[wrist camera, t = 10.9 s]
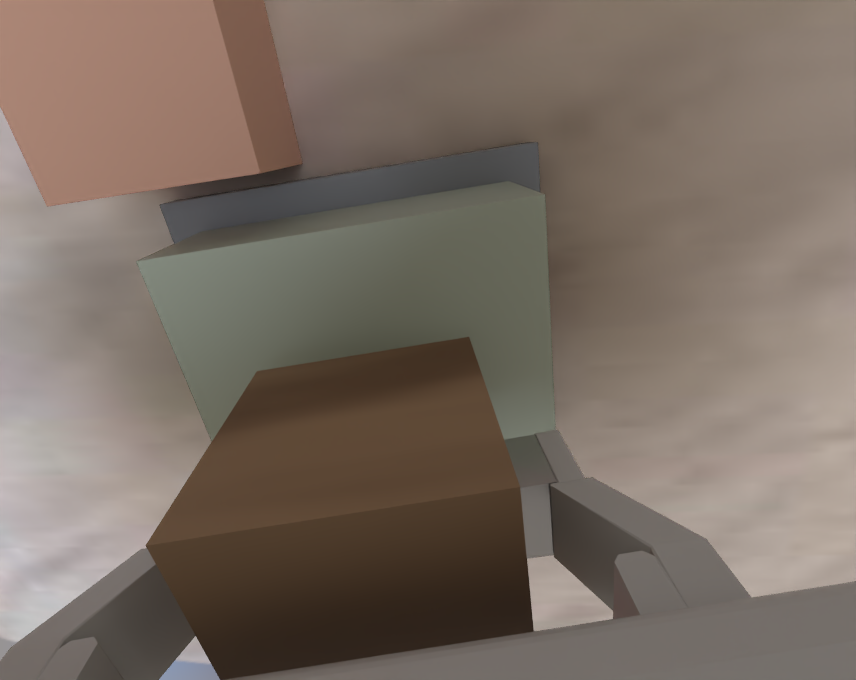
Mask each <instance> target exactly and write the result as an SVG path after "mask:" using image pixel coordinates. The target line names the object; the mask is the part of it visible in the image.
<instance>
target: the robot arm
mask: <svg viewBox="0 0 856 680" xmlns="http://www.w3.org/2000/svg"><path fill="white" fill-rule="evenodd" d="M504 441H505V444H506V447H507V450H508V453H509V455H510V458H511V461H512V464H513V467H514V470H515V473H516V476H517V479H518V482H519V485H520V490H521V501H522V512H523V523H524V533H525V544H526V555H527V558H534V557H542V556H549V555H554V557H555V558H556V559H557V560H558V561H559V562H560V563H561V564H563V565H564V566H565V567H566V568H567V569H568V570H569V571H570V572H571V573H572V574H573V575H575V576H576V577H577V578H578V579H579V580H580V581H581V582H582V583H583V584H584V585H585V586H587V587H588V588H589V589H590V590H591V591H592V592H593V593H594V594H595V595H596V596H598V597H599V598H600V599H601V600H602V601H603V602H604V603H605V604H606V605H607V606H608V607H610V608H611V609H612V610H613V619H611V620H605V621H598V622H592V623H585V624H579V625H572V626H566V627H560V628H553V629H547V630H540V631H534V632H527V633H521V634H515V635H508V636H502V637H495V638H489V639H482V640H476V641H470V642H463V643H457V644H450V645H444V646H437V647H431V648H424V649H418V650H412V651H405V652H399V653H392V654H386V655H379V656H373V657H367V658H360V659H354V660H347V661H341V662H335V663H328V664H322V665H315V666H309V667H302V668H296V669H290V670H283V671H277V672H270V673H264V674H258V675H251V676H245V677H238V678H232V679H225V680H856V581H855V582H848V583H842V584H836V585H829V586H823V587H816V588H810V589H803V590H797V591H791V592H784V593H778V594H771V595H765V596H759V597H751V596H750V595H749V594H748V592H747V591H746V590H745V588H744V587H743V586H742V584H741V583H740V582H739V581H738V579H737V578H736V577H735V575H734V574H733V573H732V571H731V570H730V569H729V568H728V566H727V565H726V564H725V562H724V561H723V560H722V558H721V557H720V556H719V555H718V553H717V552H716V551H715V549H714V548H713V547H712V545H711V544H710V543H709V542H708V540H707V539H706V538H704V537H702V536H700V535H698V534H696V533H694V532H693V531H691V530H689V529H687V528H685V527H683V526H681V525H680V524H678V523H676V522H674V521H672V520H670V519H669V518H667V517H665V516H663V515H661V514H659V513H657V512H656V511H654V510H652V509H650V508H648V507H646V506H644V505H643V504H641V503H639V502H637V501H635V500H633V499H631V498H630V497H628V496H626V495H624V494H622V493H620V492H619V491H617V490H615V489H613V488H611V487H609V486H607V485H606V484H604V483H602V482H600V481H598V480H596V479H594V478H592V477H591V478H585V477H584V475H583V473H582V471H581V470H580V468H579V466H578V464H577V462H576V461H575V459H574V457H573V455H572V453H571V452H570V450H569V448H568V446H567V445H566V443H565V441H564V439H563V437H562V436H561V434H560V432H559V431H558V430H556V429H555V430H550V431H545V432H540V433H534V435H527V436H521V437H515V438H509V439H504ZM195 636H196V635H195V633H194V632H193V630H192V628H191V626H190V624H189V623H188V621H187V619H186V617H185V615H184V614H183V612H182V610H181V608H180V606H179V605H178V603H177V601H176V599H175V597H174V596H173V594H172V592H171V590H170V589H169V587H168V585H167V583H166V581H165V580H164V578H163V576H162V574H161V572H160V571H159V569H158V567H157V565H156V563H155V562H154V560H153V558H152V556H151V554H150V553H149V551H148V549H147V548H145V549H141V550H139V551H138V552H137V553H135V554H134V555H133V556H131V557H130V558H129V559H127V560H126V561H125V562H124V563H122V564H121V565H120V566H118V567H117V568H116V569H114V570H113V571H112V572H110V573H109V574H108V575H106V576H105V577H104V578H102V579H101V580H100V581H98V582H97V583H96V584H94V585H93V586H92V587H90V588H89V589H88V590H86V591H85V592H84V593H82V594H81V595H80V596H78V597H77V598H76V599H74V600H73V601H72V602H70V603H69V604H68V605H66V606H65V607H64V608H62V609H61V610H60V611H59V612H57V613H56V614H55V615H53V616H52V617H51V618H49V619H48V620H47V621H45V622H44V623H43V624H41V625H40V626H39V627H37V628H36V629H35V630H33V631H32V632H31V633H29V634H28V635H27V636H25V637H24V638H23V639H21V640H20V641H19V642H17V643H16V644H15V645H13V646H12V647H11V648H10V649H9V650H8V652H7V653H6V654H5V656H4V657H3V658H2V659H1V661H0V680H159V679H160V677H161V676H162V675H163V674H164V673H165V671H166V670H167V669H168V668H169V667H170V665H171V664H172V663H173V662H174V661H175V659H176V658H177V657H178V656H179V655H180V654H181V652H182V651H183V650H184V649H185V648H186V646H187V645H188V644H189V643H190V642H191V640H192V639H193V638H194V637H195Z"/></svg>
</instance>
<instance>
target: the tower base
mask: <svg viewBox="0 0 856 680" xmlns="http://www.w3.org/2000/svg"><path fill="white" fill-rule="evenodd" d="M160 208H161V210H162V213H163V216H164V218H165V221H166V223H167V226H168V229H169V231H170V234H171V237H172V239H173V242H174V244H173V245H171V246H169V247H167V248H164V249H162V250H160V251H158V252H156V253H154V254H151V255H149V256H147V257H145V258H143V259H140V260H138V261H136V262H137V265H138V267H139V270H140V272H141V274H142V277H143V279H144V281H145V284H146V286H147V289H148V291H149V293H150V296H151V298H152V300H153V303H154V305H155V308H156V310H157V312H158V315H159V317H160V320H161V322H162V324H163V327H164V329H165V331H166V334H167V336H168V339H169V341H170V343H171V346H172V348H173V350H174V353H175V355H176V358H177V360H178V362H179V365H180V367H181V370H182V372H183V374H184V377H185V379H186V381H187V384H188V386H189V389H190V391H191V393H192V396H193V398H194V400H195V403H196V405H197V408H198V410H199V412H200V415H201V417H202V420H203V422H204V424H205V427H206V429H207V431H208V434H209V436H210V439H211V441H213V439H214V438H215V436H216V434H217V433H218V431H219V430H220V428H221V427H222V425H223V423H224V422H225V420H226V419H227V417H228V416H229V414H230V413H231V411H232V409H233V408H234V406H235V405H236V403H237V402H238V400H239V398H240V397H241V395H242V394H243V392H244V391H245V389H246V387H247V386H248V384H249V383H250V381H251V380H252V378H253V376H254V375H255V373H256V372H257V371H261V370H267V369H273V368H279V367H286V366H292V365H298V364H304V363H310V362H316V361H323V360H329V359H335V358H341V357H347V356H353V355H360V354H366V353H372V352H378V351H384V350H390V349H397V348H403V347H409V346H415V345H421V344H427V343H433V342H440V341H446V340H452V339H458V338H464V337H469V338H470V341H471V344H472V347H473V349H474V352H475V355H476V358H477V361H478V364H479V367H480V370H481V373H482V376H483V379H484V382H485V385H486V388H487V391H488V394H489V397H490V400H491V402H492V405H493V408H494V411H495V414H496V417H497V420H498V423H499V426H500V429H501V432H502V435H503V438H504V439H509V438H515V437H521V436H527V435H534V433H540V432H545V431H550V430H555V429H556V428H555V406H554V383H553V361H552V338H551V315H550V293H549V270H548V247H547V225H546V202H545V194H543V193H540V175H539V154H538V142H527V143H521V144H515V145H509V146H503V147H497V148H491V149H485V150H479V151H473V152H467V153H461V154H455V155H449V156H443V157H437V158H431V159H425V160H418V161H412V162H406V163H400V164H394V165H388V166H382V167H376V168H370V169H364V170H358V171H352V172H346V173H340V174H334V175H328V176H322V177H316V178H309V179H303V180H297V181H291V182H285V183H279V184H273V185H267V186H261V187H255V188H249V189H243V190H237V191H231V192H225V193H219V194H213V195H207V196H201V197H194V198H188V199H182V200H176V201H172V202H168V203H164V204H160Z"/></svg>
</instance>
